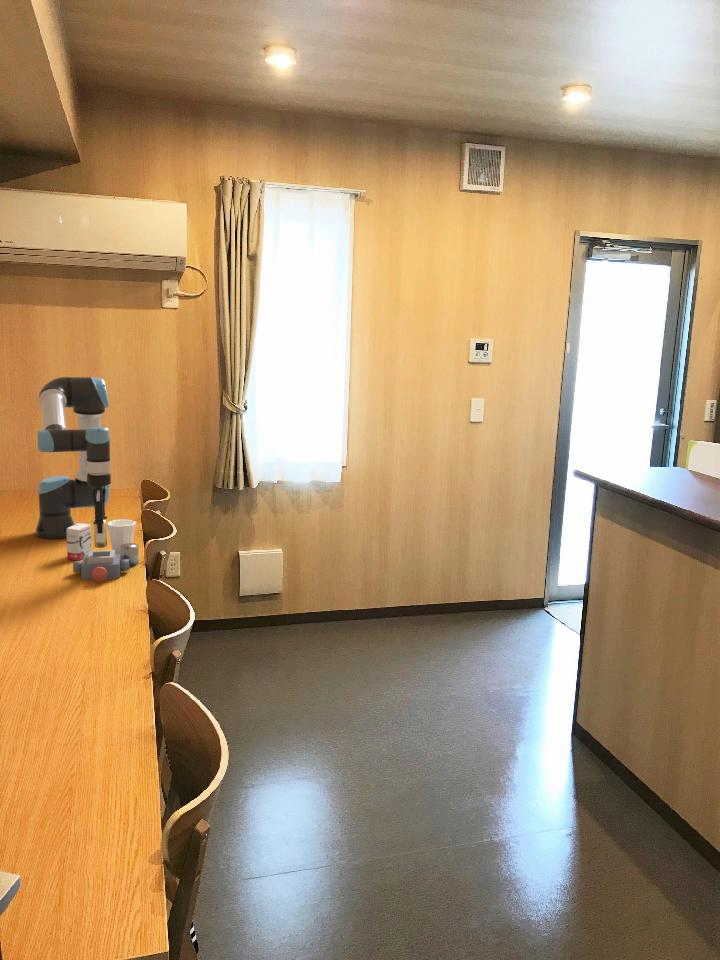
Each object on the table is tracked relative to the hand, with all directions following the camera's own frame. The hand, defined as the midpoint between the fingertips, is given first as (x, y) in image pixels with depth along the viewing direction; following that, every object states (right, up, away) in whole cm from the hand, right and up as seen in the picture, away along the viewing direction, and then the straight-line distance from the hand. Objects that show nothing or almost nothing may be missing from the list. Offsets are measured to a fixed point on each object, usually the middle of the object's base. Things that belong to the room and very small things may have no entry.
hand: (100, 539), depth 242 cm
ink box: (-15, -8, +19) cm, 25 cm away
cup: (0, -8, +21) cm, 23 cm away
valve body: (0, -12, +1) cm, 12 cm away
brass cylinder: (0, -2, 0) cm, 2 cm away
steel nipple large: (+6, -10, +14) cm, 18 cm away
